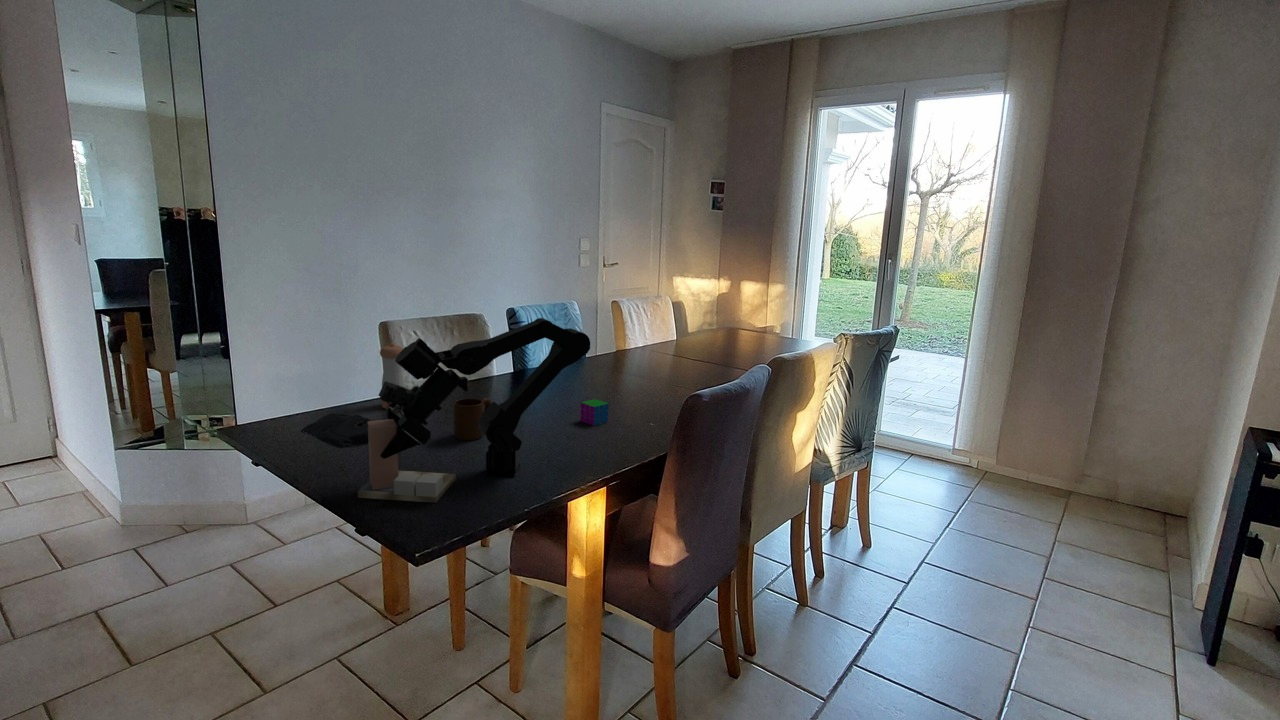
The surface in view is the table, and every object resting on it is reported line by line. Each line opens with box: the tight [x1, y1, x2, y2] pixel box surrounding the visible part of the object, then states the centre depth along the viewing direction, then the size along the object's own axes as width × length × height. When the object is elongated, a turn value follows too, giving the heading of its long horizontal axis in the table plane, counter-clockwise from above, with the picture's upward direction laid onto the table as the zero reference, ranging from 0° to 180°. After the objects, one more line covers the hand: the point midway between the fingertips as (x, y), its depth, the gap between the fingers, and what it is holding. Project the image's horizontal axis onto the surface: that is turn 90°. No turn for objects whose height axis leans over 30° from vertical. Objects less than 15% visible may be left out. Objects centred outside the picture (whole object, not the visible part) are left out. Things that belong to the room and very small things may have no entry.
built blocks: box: [394, 473, 443, 497], centre depth 127 cm, size 8×4×3 cm, turn 87°
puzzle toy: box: [579, 398, 610, 426], centre depth 182 cm, size 6×6×6 cm
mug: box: [453, 397, 492, 441], centre depth 166 cm, size 12×8×9 cm, turn 152°
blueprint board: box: [357, 470, 457, 503], centre depth 132 cm, size 16×12×1 cm
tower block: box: [367, 419, 399, 490], centre depth 129 cm, size 5×5×13 cm
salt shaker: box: [379, 342, 407, 409], centre depth 186 cm, size 7×7×19 cm
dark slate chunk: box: [301, 413, 375, 449], centre depth 163 cm, size 15×22×5 cm
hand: (378, 449), depth 128 cm, fingers open, 9 cm apart
